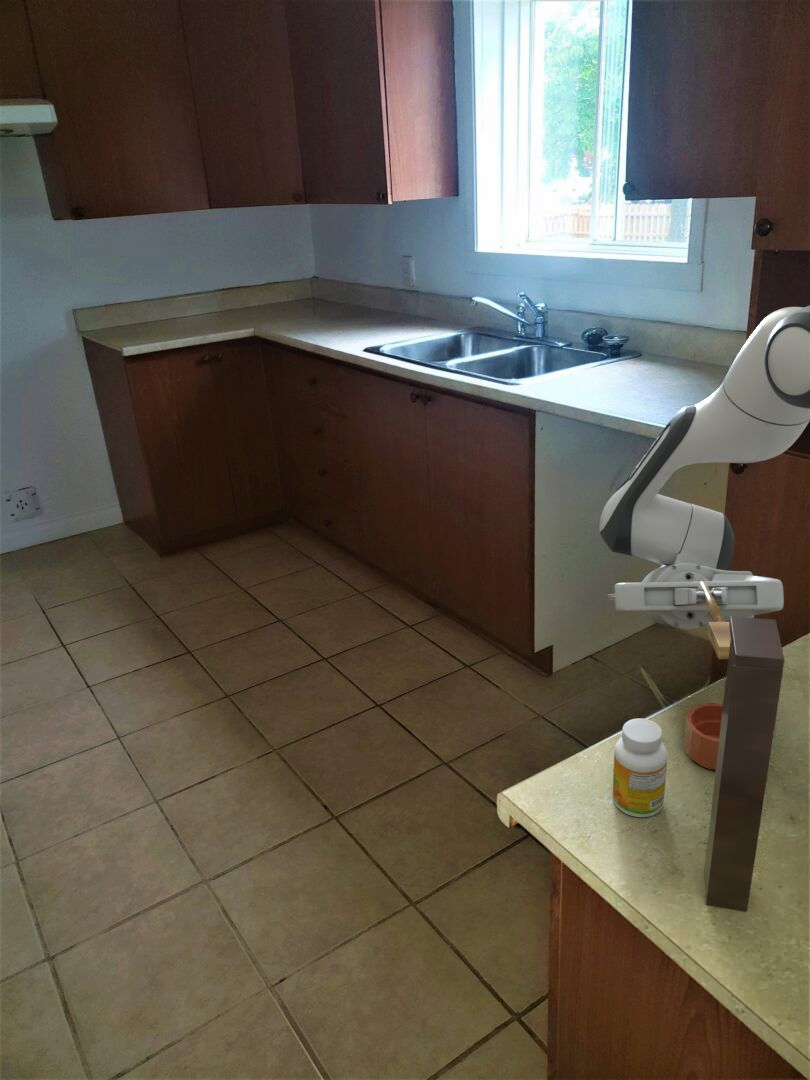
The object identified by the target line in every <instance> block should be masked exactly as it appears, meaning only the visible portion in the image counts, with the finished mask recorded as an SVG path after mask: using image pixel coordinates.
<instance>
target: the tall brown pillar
mask: <svg viewBox="0 0 810 1080" xmlns="http://www.w3.org/2000/svg"><path fill="white" fill-rule="evenodd" d="M728 622H729V629H730V636H731V640H730V649H729V658H728V659H727V667H726V676H725V683H724V684H725V686H724V693H723V703H722V704H723V710H722V719H721V728H720V737H719V746H718V754H717V763H716V770H715V772H714V773H715V774H714V782H713V790H712V799H711V808H710V816H709V826H708V833H707V834H708V835H707V842H706V843H707V844H706V852H705V861H704V869H703V875H704V893H705V895H704V896H705V905H706V906H711V907H718V908H722V909H729V910H735V911H740V912H741V911H742V912H745V913H746V912H748V908H749V901H750V894H751V890H752V889H751V887H752V882H753V881H752V880H753V875H754V867H755V862H756V861H755V860H756V855H757V848H758V843H759V841H758V840H759V835H760V829H761V821H762V816H763V815H762V814H763V808H764V799H765V793H766V787H767V781H768V775H769V767H770V760H771V754H772V747H773V741H774V734H775V727H776V722H777V721H776V720H777V714H778V706H779V701H780V693H781V687H782V679H783V675H784V674H783V673H784V666H785V655H784V651H783V647H782V642H781V638H780V637H781V636H780V633H779V629H778V625H777V620H776V619H770V618H756V617H754V618H744V617H730V621H728Z"/></svg>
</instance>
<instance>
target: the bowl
mask: <svg viewBox="0 0 810 1080" xmlns="http://www.w3.org/2000/svg"><path fill="white" fill-rule="evenodd" d="M722 710H723V703H718V702H717V703H716V702H707V703H701V704H698V705H695V706H693V707H692V708H690V710H689V711H688V713H687V714H686V719H685V731H684V739H683V741H684V742H683V743H684V744H683V746H684V751H685V752H686V755H688V757H689V758H690V759H691V760H693V761H694V762H695V763H696V764H698V765H699V766H702V767H704V768H706V769H709V770H713V771H716V763H717V754H718V746H719V737H720V728H721V719H722Z"/></svg>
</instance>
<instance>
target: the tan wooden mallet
mask: <svg viewBox="0 0 810 1080" xmlns="http://www.w3.org/2000/svg"><path fill="white" fill-rule="evenodd" d="M698 588H699V589H704V591H705V595H704V598H705V603H706V606H707V608H708V610H709V612H710V615H711V617H712V619H713V621H714V622H709V624H708V626H707V627H708V628H707V636H708V638H709V640H710V643H711V645H712V648H713V650H714V653H715V655H716V657H717V659H718V660H728V658H729V649H730V640H731V636H730V629H729V622H730V621H727V622H725V621H724V619H723V617H722V614H721V612H720V610H719V608H718V606H717V604H716V602H715V600H714V597H713V595H712V593H711V591H710V589H709V587H708V585H707V583H706V582H703V581H702V582H700V583H699V584H698Z"/></svg>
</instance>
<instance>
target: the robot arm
mask: <svg viewBox="0 0 810 1080" xmlns="http://www.w3.org/2000/svg"><path fill="white" fill-rule="evenodd" d="M809 423H810V305H807V306H805V307H803V306H788V307H783V308H779V309H777V310H774V311H773V312H771V313H769V314H767V316H766V317H764V318H763V319H762V321H760V323H759V324H758V325H757V327H756V328H755V329H754V331H753V332H752V333H751V334H750V336H749V337H748V339H747V340H746V342H745V343H744V344H743V346H742V347H741V349H740V350H739V352H738V353H737V355H736V357H735V359H734V360H733V362H732V364H731V365H730V367H729V369H728V370H727V373H726V375H725V377H724V379H723V381H722V383H721V384H720V385H719V386H718V388H717V389H716V390H715V391H714V392H713V393H711V395H709V396H708V397H707V398H705V399H703V400H702V401H700V402H698V403H696V404H692V405H687V406H684V407H682V408H681V409H679V410H678V412H677V413H675V414H674V415H673V416H672V417H671V419H670V420H669V422H667V424H666V425H665V427H664V428H663V429H662V430H661V431H660V432H659V434H658V435H657V437H656V439H655V440H653V442H652V444H651V445H650V446H649V448H648V449H647V451H645V453H644V455H643V456H642V458H641V459H639V460H640V461H639V462H638V463H637V465H636V466H635V467H634V468H633V470H632V471H631V473H630V474H629V476H628V477H627V478H626V480H624V482H623V483H622V484H620V486H618V488H617V489H616V490H615V492H614V493H613V495H612V496H610V498H609V500H608V501H607V502H606V503H605V505H604V507H603V509H602V512H601V515H600V519H599V527H598V532H599V534H600V537H601V538H602V540H603V542H604V543H605V544H606V546H607V547H608V549H609V550H610V551H611V552H612V553H617V554H620V555H625V556H630V557H633V556H634V557H637V558H640V559H643V560H646V561H650V562H653V563H655V564H659V565H661V566H659V567H658V568H656V569H654V570H652V571H651V572H650V573H648V574H647V575H646V576H645V577H644V578H643V580H642V581H639V582H630V581H629V582H618V583H615V584H614V589H613V590H614V593H608V594H607V596H606V598H607V600H608V601H614V609H615V611H616V612H623V613H624V612H625V613H626V612H628V613H630V612H631V613H632V612H634V613H635V612H636V613H637V612H643V614H645V616H647V618H649V619H650V620H651V621H653V622H654V623H656V624H659V625H661V626H665V627H671V628H675V629H679V630H696V629H699V628H702V627H708V624H709V622H714V621H713V619H712V617H711V615H710V612H709V610H708V608H707V606H706V603H705V598H704V595H705V591H704V589H699V588H698V584H699V583H700V582H702V581H703V582H706V583H707V585H708V587H709V589H710V591H711V593H712V595H713V597H714V600H715V602H716V604H717V606H718V608H719V610H720V612H721V614H722V617H723V619H724V621H725V622H730V617H744V618H755V616H756V615H757V616H758V615H763V614H769V613H774V612H775V613H776V612H779V611H781V610H783V609H784V601H785V596H784V595H785V594H784V586H783V582H782V581H781V580H780V579H778V578H773V577H767V576H761V575H760V576H759V575H753V572H752V571H750V570H738V569H737V570H736V569H735V570H733V569H729V568H730V565H731V563H732V560H733V556H734V551H735V545H736V538H735V533H734V531H733V528H732V525H731V523H730V521H729V519H728V517H727V516H726V515H725V513H724V512H720V511H716V510H714V509H710V508H707V507H704V506H702V505H698V504H694V503H689V502H687V501H683V500H680V499H676V498H673V497H670V496H666V495H663V494H660V493H659V492H660V491H661V489H662V488H663V487H664V485H666V483H667V482H668V481H669V479H670V478H671V477H672V475H673V474H674V473H675V472H676V471H677V470H679V469H681V468H683V467H686V466H689V465H696V464H707V463H708V464H709V463H710V464H711V463H725V464H726V463H727V464H754V463H759V462H763V461H767V460H771V459H773V458H776V457H778V456H779V455H782V454H783V453H784V452H786V451H787V450H788V449H789V448H790V447H792V446H793V445H794V443H795V442H797V440H798V439H799V438H800V436H801V435H802V433H803V432H804V430H805V429H806V427H807V426H808V425H809Z"/></svg>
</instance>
